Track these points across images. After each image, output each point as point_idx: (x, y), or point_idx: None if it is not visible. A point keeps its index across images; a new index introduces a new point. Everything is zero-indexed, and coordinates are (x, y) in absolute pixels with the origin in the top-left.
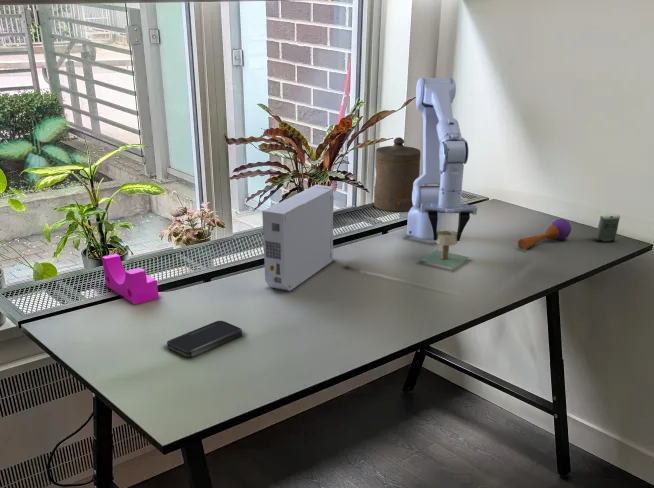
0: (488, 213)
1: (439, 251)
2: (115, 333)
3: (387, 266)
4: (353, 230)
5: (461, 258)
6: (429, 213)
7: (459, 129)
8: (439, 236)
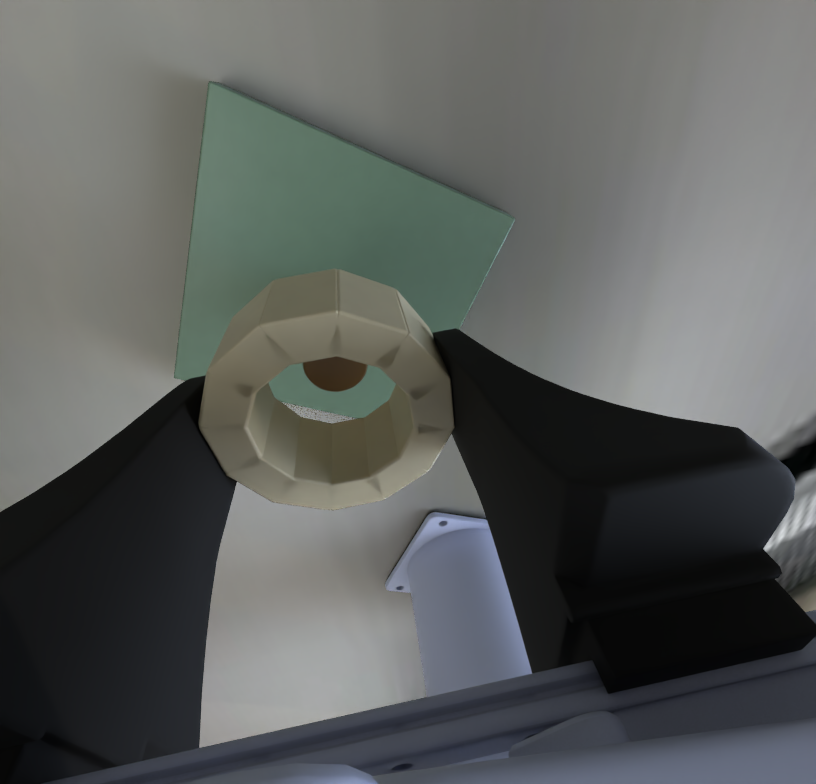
0: None
1: None
2: None
3: (757, 76)
4: None
5: (216, 337)
6: (755, 592)
7: None
8: (410, 328)
